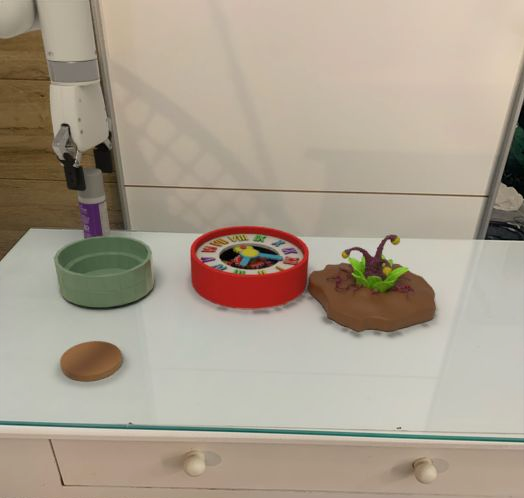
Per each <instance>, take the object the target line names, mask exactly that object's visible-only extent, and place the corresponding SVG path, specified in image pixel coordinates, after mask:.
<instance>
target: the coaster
mask: <svg viewBox="0 0 524 498" xmlns="http://www.w3.org/2000/svg"><path fill="white" fill-rule="evenodd" d="M122 363H123V356H122V352H121V350H120V348H119V347H118V346H116V345H115V344H114V343H111V342H107V341H101V340H91V341H85V342H80V343H78V344H75V345H73V346H71V347H69V348H68V349H67V350H65V352H63V354H62V355H61V357H60V359H59V365H60V370H61V371H62V373H63V374H64V375H65V376H66V377H67V378H69V379H71V380H74V381H78V382H93V381H99V380H101V379H102V380H103V379H105V378H107V377H110V376H111V375H113V374H115V373H116V372H117V371H118V370H119V369H120V367H121V365H122Z"/></svg>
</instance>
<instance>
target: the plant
mask: <svg viewBox="0 0 524 498" xmlns="http://www.w3.org/2000/svg"><path fill="white" fill-rule="evenodd" d="M387 241H390V244H392V245H394V246H397V245H399V244H400V243H401V238H400V237H399V236H398V235H397V234H389V235H386V236H385V237H384V238H383V239H381V242H380V243H379V244H378V246H377V247H376V251H375V254H374V256H372V255H371V254H370V253H369V252H368V250H366V249H365V248H363V247H360V246H353V247H350V248H347V249H344V250H343V251H342V252H341V257H342V258H343V259H344V260H345V259H347V260H348V262H349V263H347V262H340V263H338V264H333V263H332V264H331V263H329V264H326V265H325V267H324V268H323V269H319V270H313V271H312V272H311V273H310V274H309V276H308V285H307V289H308V292H309V293H310V295H311V296H312V297H313V298H315V299H316V300H317V301H318V302H319V303H320V304H321V306H322V307H323V309H324V310H325V312H326V316H327V318H329V319H330V320H332V321H334V322H335V323H337V324H339V325H341V326H343V327H347V328H350V329H352V330H354V331H355V332H362V331H366V330H378V331H383V332H393V331H397V330H399V329H403V328H406V327H409V326H412V325H413V326H414V325H416V324H420V323H425V322H428V321H432V320H433V319H434V316H435V313H436V309H437V306H436V301H435V298H436V293H435V290H434V288H433V287H432V286H431V285H430V284H429V283H428V281H427V280H426V279H425V278H424V277H423V276H421V275H418V274H416V273H413V272H411V271H410V270H409V267H406V266H403V265H401V264H400V263H394V260H393V259H392V258H390V259H387V257H386V256H385V255H384V254H383V251H384V247H385V246H386V243H387ZM352 251H356V252H359V253H361V254H362V256H361V261H360V260H359V259H356V258H355V257H350V256H351V252H352Z"/></svg>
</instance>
